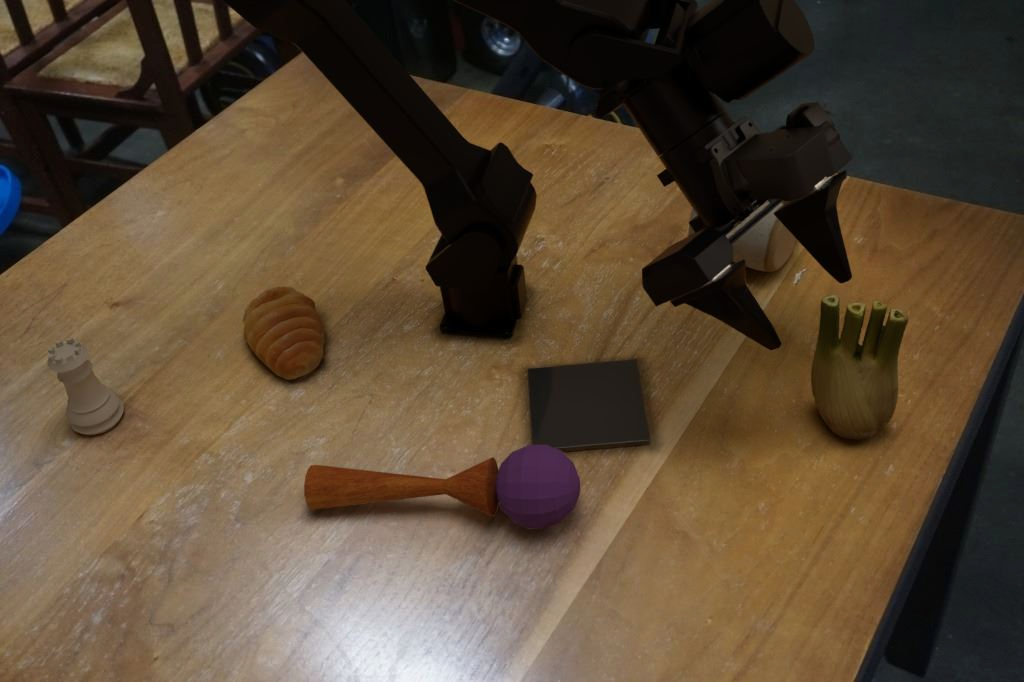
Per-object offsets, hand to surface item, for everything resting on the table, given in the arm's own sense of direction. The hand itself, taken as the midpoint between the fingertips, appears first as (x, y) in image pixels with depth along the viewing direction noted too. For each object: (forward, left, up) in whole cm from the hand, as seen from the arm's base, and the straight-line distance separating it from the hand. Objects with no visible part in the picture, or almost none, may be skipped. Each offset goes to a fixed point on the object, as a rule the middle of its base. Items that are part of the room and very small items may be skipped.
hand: (812, 313), depth 79 cm
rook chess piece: (-57, -10, -9) cm, 58 cm away
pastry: (-44, +1, -9) cm, 45 cm away
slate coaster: (-17, -3, -9) cm, 19 cm away
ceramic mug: (-6, +19, -9) cm, 22 cm away
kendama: (-25, -14, -9) cm, 30 cm away
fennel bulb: (+4, -2, -9) cm, 10 cm away
